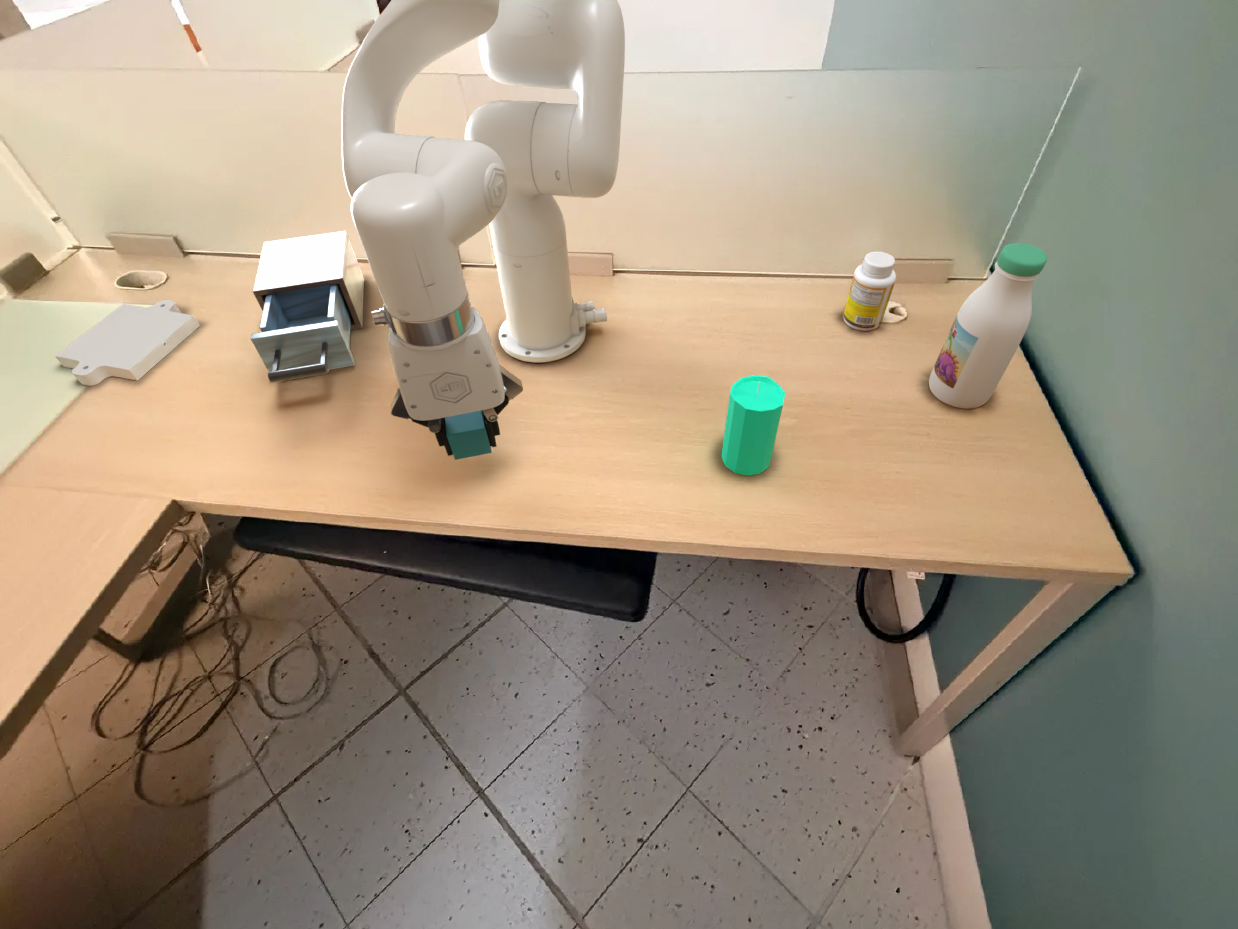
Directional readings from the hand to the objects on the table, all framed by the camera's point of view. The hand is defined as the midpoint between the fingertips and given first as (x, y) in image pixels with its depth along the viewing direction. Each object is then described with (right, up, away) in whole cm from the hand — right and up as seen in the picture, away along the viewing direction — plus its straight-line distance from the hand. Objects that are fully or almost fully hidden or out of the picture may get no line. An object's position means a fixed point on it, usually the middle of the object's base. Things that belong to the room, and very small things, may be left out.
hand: (471, 441), depth 75 cm
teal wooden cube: (0, 0, 0) cm, 0 cm away
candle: (+32, -2, +4) cm, 33 cm away
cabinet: (-29, +22, +26) cm, 45 cm away
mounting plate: (-55, +15, +21) cm, 60 cm away
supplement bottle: (+53, +18, +21) cm, 60 cm away
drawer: (-26, +12, +17) cm, 33 cm away
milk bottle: (+62, +7, +10) cm, 63 cm away
